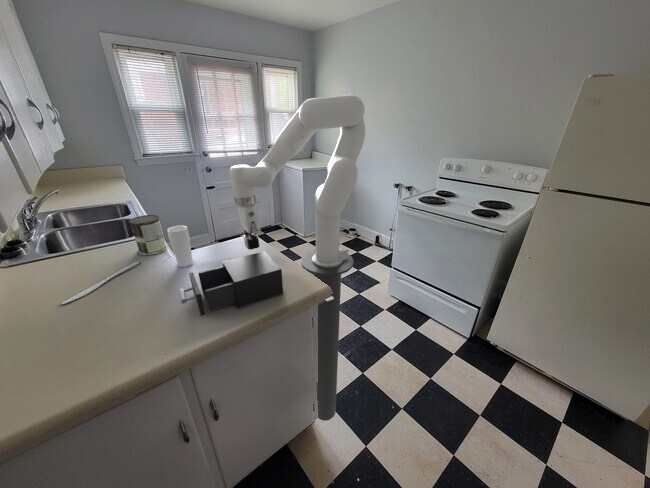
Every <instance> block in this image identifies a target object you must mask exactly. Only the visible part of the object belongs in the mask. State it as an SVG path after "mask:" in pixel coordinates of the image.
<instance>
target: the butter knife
mask: <svg viewBox="0 0 650 488" xmlns="http://www.w3.org/2000/svg"><path fill="white" fill-rule="evenodd" d="M138 264H140V262H139V261H135V262H132V263H130V264H128V265H127V266H124V267H123V268H121V269H120V270H117V272H115V273H113V274H111V275H110V276H108V277H107V278H104V279H103V280H101V281H99V282H98V283H96V284H94V285H92V286H90V287H88V288H86V289H84V290H83V291H81V292H79V293H77V294H75V295H73V296H72V297H70V298H68V299H66V300H64V301H62V302H61V305H65V304H68V303H70V302H72V301H75V300H78V299H79V298H82V297H85V296H86V295H88V294H89V293H91V292H93V291H94V290H96V289H98V288H99V287H101V286H102V285H103V284H105V283H106V282H108V281H109V280H111V279H113V278H115V277H116V276H118V275H120V274H122V273H125V272H126V271H128V270H130V269H131V268H134V267H135V266H137V265H138Z"/></svg>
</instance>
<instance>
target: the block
mask: <svg viewBox="0 0 650 488" xmlns="http://www.w3.org/2000/svg"><path fill="white" fill-rule="evenodd" d="M251 235H252V233H251ZM257 239H258V246H259V247H258V248H260V240H259V235H257ZM243 241H244V246H245V247H246V249H247V250H251V249H250V244H249V234H248V235H245V234H243Z"/></svg>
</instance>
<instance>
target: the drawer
mask: <svg viewBox="0 0 650 488" xmlns="http://www.w3.org/2000/svg"><path fill="white" fill-rule="evenodd" d="M188 276H189V280H190V282H191V287H189V288H188V287H187V288H185V289H184V288H179V289H178V290H177V292H178V296H179V301H180V303H181V304H182V305H183V304H186V303H187V302H188V301H192V300H195V301H196V304H197V308H198V311H199V314H200V317H204V316H206V315H207V314H206V309H205V306H204V302H203V301H204V300H203V297H204V299H205V302H206V304H207V307H208V310H209V311H210V312H212V311H215V310H218V309H220V308H224V307H227V306H231V305H233V304H236V303H237V298H236V292H235V286H234V282H233V281H232V279H231V277H230V275H229V274H228V272H227V270H226V269H225V267H224V266H223V265H222V266H219V267H214V268H210V269H207V270H203V271H199V272H198V277H199V283H200V287H201V290H200V287H199V284H198V282H197V279H196V276H195V274H194V272H189V273H188ZM190 291H192V292H193V296H189V297H187V296H186V293H187V292H190ZM201 291H202V293H201ZM202 294H203V296H202Z"/></svg>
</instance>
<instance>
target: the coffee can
mask: <svg viewBox="0 0 650 488" xmlns="http://www.w3.org/2000/svg"><path fill="white" fill-rule="evenodd" d="M129 225H130V227H131V230H132V233H133V236H134V239H135V243H136V246H137V249H138V253H139V254H140V255H142V256H153V255H156V254H160V253H162V252H164V251H165V250H167V248H168V247H167V244H166V239H165V237H164V233H163V228H162V224H161V220H160V216H159V215H157V214H144V215H140V216H139V215H138V216H135V217H133V218H131V219H130V220H129Z"/></svg>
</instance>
